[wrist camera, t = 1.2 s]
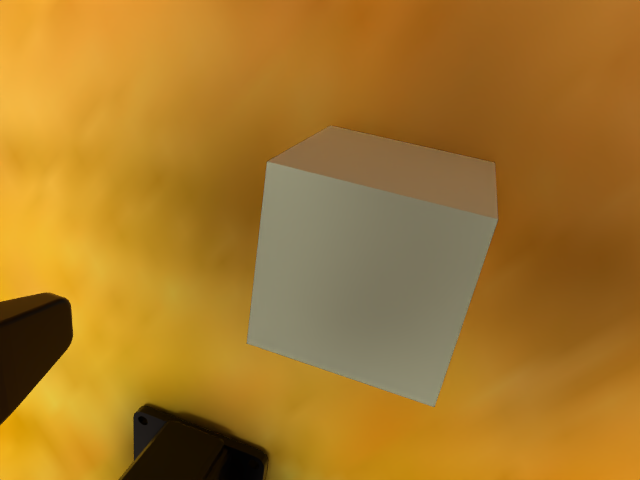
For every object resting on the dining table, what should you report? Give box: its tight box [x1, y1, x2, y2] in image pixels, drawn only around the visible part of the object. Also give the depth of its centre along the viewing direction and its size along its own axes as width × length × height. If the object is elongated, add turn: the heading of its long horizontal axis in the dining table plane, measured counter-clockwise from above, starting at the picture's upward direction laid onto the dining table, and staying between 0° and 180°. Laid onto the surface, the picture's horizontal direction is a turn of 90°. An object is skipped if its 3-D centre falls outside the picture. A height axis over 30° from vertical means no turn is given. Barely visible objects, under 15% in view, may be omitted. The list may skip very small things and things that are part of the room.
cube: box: [247, 125, 498, 407], centre depth 13 cm, size 5×5×5 cm
